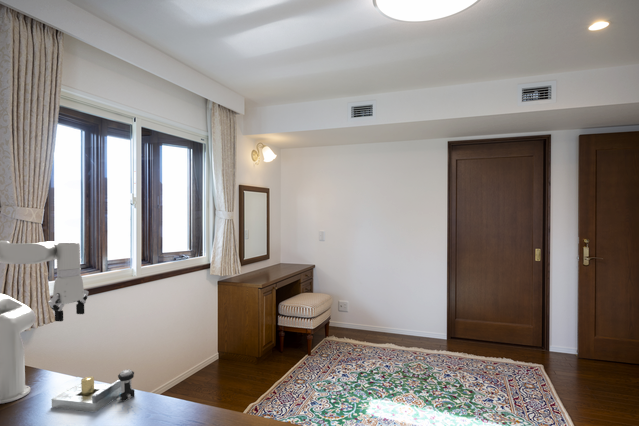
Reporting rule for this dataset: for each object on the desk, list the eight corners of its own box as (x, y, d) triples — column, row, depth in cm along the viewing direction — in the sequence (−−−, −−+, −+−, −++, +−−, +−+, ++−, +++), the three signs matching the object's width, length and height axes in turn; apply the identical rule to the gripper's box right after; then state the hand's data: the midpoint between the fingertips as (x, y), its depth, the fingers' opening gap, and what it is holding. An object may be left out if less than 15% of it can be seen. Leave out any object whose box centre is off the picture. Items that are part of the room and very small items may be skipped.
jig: (51, 407, 134) (51, 392, 134) (81, 390, 146) (81, 376, 146) (95, 412, 130) (95, 396, 130) (122, 393, 143) (122, 379, 143)
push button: (121, 405, 134) (121, 377, 134) (111, 402, 137) (111, 374, 136) (138, 396, 140) (137, 369, 140) (128, 393, 143) (127, 367, 142)
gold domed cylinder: (79, 402, 137) (78, 380, 137) (88, 397, 140) (87, 376, 140) (88, 403, 136) (87, 381, 136) (97, 398, 140) (96, 376, 140)
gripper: (79, 269, 156) (80, 311, 156) (40, 277, 139) (41, 323, 139) (94, 269, 154) (95, 311, 154) (57, 277, 137) (58, 324, 137)
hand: (70, 317), depth 146 cm, fingers open, 9 cm apart
